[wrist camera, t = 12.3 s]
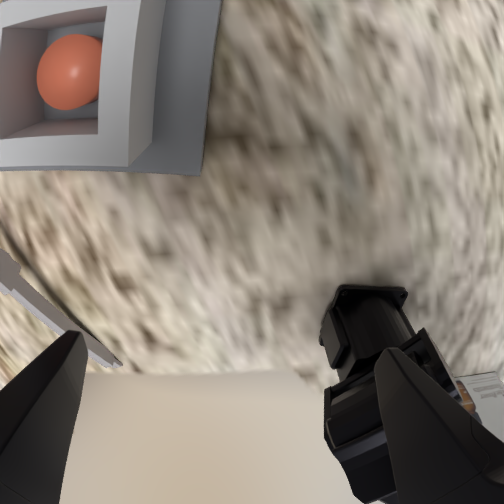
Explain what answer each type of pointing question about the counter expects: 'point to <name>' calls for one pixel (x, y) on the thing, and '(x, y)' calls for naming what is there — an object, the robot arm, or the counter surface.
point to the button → (70, 71)
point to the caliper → (47, 309)
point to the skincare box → (484, 400)
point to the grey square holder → (110, 86)
